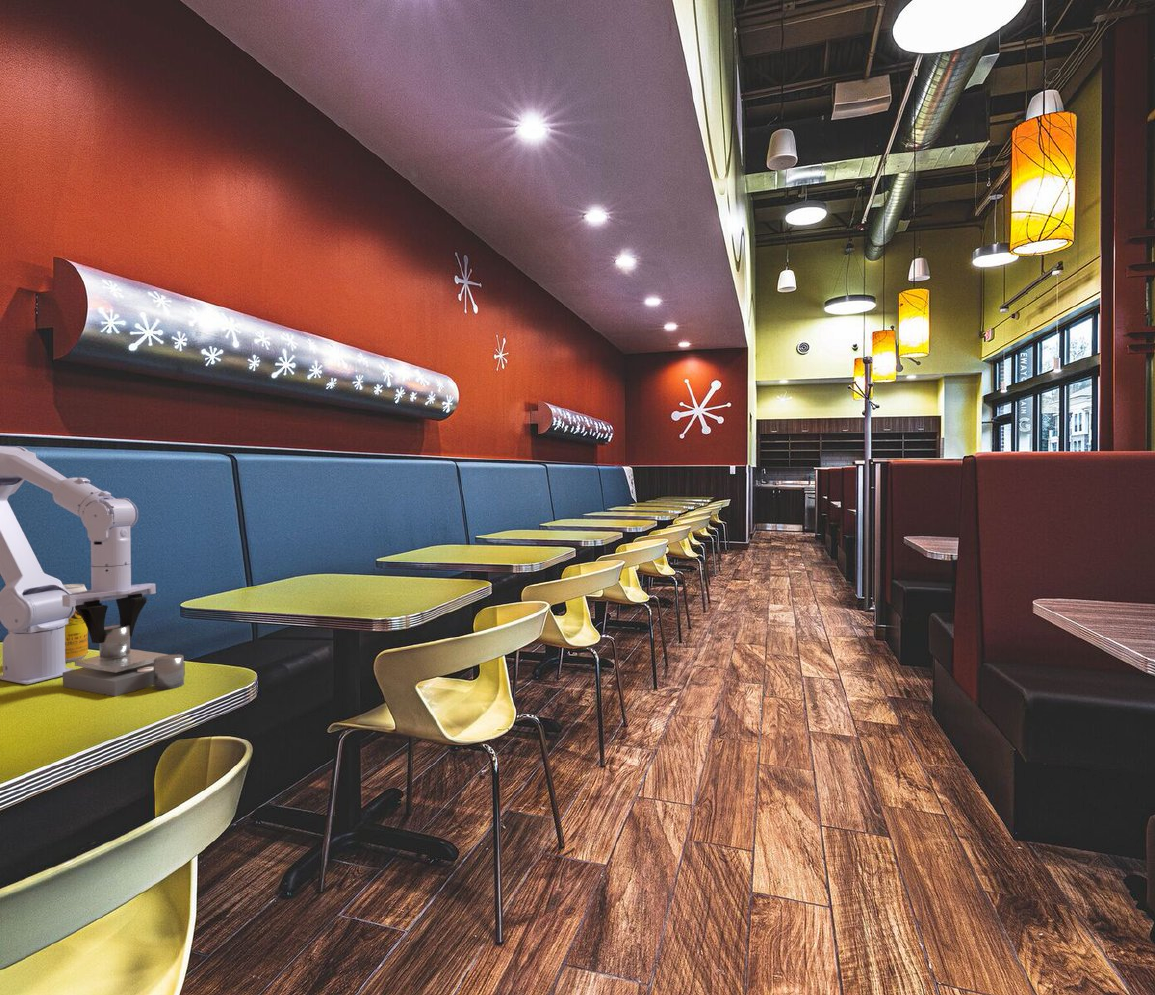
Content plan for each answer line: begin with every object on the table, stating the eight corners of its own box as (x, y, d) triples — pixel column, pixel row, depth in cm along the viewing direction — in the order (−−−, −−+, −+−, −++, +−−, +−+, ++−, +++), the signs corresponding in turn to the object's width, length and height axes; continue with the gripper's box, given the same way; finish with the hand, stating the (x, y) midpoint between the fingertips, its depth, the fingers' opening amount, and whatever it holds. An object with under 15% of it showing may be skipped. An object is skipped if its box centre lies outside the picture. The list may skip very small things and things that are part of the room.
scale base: (62, 686, 106) (62, 669, 106) (134, 667, 117) (134, 652, 117) (115, 696, 101) (114, 678, 101) (184, 675, 112) (184, 659, 112)
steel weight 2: (147, 688, 105) (147, 659, 105) (172, 681, 109) (172, 653, 109) (165, 691, 104) (164, 662, 103) (189, 683, 108) (189, 655, 108)
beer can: (65, 664, 119) (64, 588, 119) (40, 662, 121) (39, 587, 120) (95, 656, 125) (94, 584, 125) (71, 654, 127) (70, 583, 126)
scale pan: (74, 665, 107) (74, 661, 107) (128, 653, 116) (128, 648, 116) (115, 672, 103) (115, 667, 103) (168, 658, 112) (168, 654, 112)
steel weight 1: (95, 656, 109) (94, 628, 109) (124, 650, 113) (123, 623, 113) (105, 659, 107) (104, 631, 107) (134, 653, 111) (133, 626, 111)
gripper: (80, 571, 102) (81, 651, 102) (166, 561, 115) (166, 632, 116) (54, 569, 104) (55, 647, 105) (141, 559, 118) (142, 629, 118)
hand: (112, 639), depth 110 cm, fingers closed on steel weight 1, 4 cm apart
